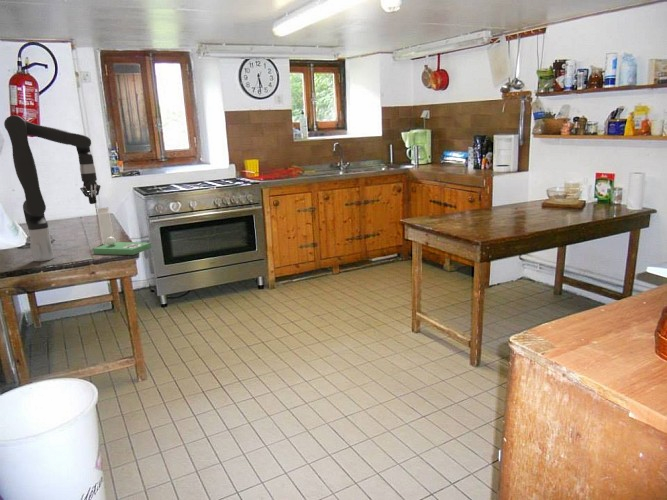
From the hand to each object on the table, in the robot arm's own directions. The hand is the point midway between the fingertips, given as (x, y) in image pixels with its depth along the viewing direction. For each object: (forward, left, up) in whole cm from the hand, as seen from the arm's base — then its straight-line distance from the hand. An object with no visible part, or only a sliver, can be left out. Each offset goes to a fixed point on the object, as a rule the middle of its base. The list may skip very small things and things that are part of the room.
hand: (93, 203), depth 276 cm
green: (0, -15, -27) cm, 31 cm away
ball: (0, -8, -22) cm, 23 cm away
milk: (+16, +8, -27) cm, 33 cm away
